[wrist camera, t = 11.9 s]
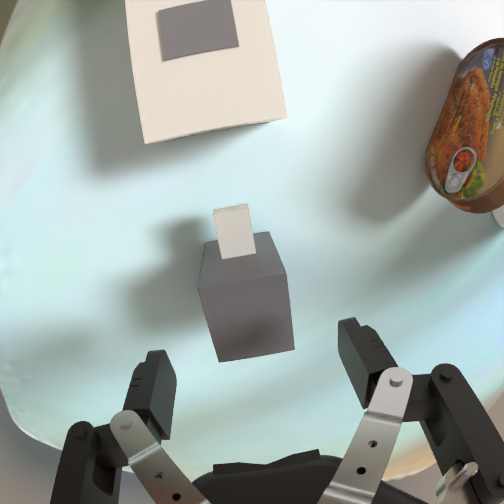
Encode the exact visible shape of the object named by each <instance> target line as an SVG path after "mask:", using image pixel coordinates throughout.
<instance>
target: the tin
mask: <svg viewBox="0 0 504 504" xmlns="http://www.w3.org/2000/svg"><path fill="white" fill-rule="evenodd" d="M426 172H427V176H428V179H429V182H430V184H431V185H432V187H433V188H434V190H435V191H436V192H437V193H438V194H439V195H441V196H442V197H444V198H446V199H448V200H449V201H450V202H451V203H452V204H454V205H455V206H456V207H458V208H459V209H461V210H464V211H467V212H471V213H487V212H490V211H493V210H495V209H497V208H499V207H501V206H503V205H504V38H497V39H492V40H489V41H486V42H484V43H482V44H480V45H479V46H477V47H476V48H474V49H473V50H472V51H471V52H470V53H468V54H467V56H466V57H465V58H464V59H463V61H462V62H461V64H460V65H459V67H458V69H457V72H456V74H455V77H454V80H453V83H452V86H451V89H450V92H449V95H448V97H447V100H446V103H445V105H444V108H443V111H442V113H441V116H440V118H439V121H438V123H437V126H436V128H435V130H434V133H433V135H432V138H431V140H430V143H429V146H428V149H427V155H426Z"/></svg>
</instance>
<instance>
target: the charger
mask: <svg viewBox="0 0 504 504" xmlns="http://www.w3.org/2000/svg"><path fill="white" fill-rule="evenodd" d="M213 219H214V223H215V228H216V233H217V238H218V240H217V241H211V242H206V243H205V247H204V253H203V259H202V265H201V271H200V277H199V283H198V292H199V296H200V299H201V303H202V306H203V310H204V313H205V317H206V320H207V324H208V327H209V331H210V334H211V338H212V341H213V344H214V348H215V351H216V354H217V357H218V361H219V363H220V362H227V361H234V360H240V359H246V358H252V357H258V356H264V355H270V354H275V353H280V352H286V351H291V350H295V347H294V337H293V327H292V318H291V309H290V300H289V292H288V283H287V275H286V271H285V269H284V266H283V264H282V261H281V259H280V257H279V254H278V252H277V249H276V247H275V245H274V242H273V240H272V237H271V235H270V233H269V231H268V232H262V233H256V234H253V231H252V225H251V219H250V213H249V208H248V204H241V205H235V206H230V207H224V208H219V209H214V210H213Z"/></svg>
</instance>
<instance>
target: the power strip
mask: <svg viewBox="0 0 504 504" xmlns="http://www.w3.org/2000/svg"><path fill="white" fill-rule="evenodd" d="M125 7H126V18H127V28H128V38H129V47H130V55H131V63H132V70H133V77H134V84H135V90H136V97H137V103H138V109H139V115H140V120H141V126H142V131H143V137H144V142H145V144H149V143H155V142H162V141H167V140H172V139H176V138H180V137H185V136H190V135H194V134H199V133H204V132H209V131H215V130H220V129H226V128H232V127H238V126H244V125H250V124H257V123H264V122H272V121H276V120H280V119H284V118H287V116H286V109H285V103H284V97H283V91H282V85H281V79H280V73H279V68H278V62H277V57H276V51H275V46H274V41H273V36H272V31H271V26H270V21H269V16H268V11H267V7H266V2H265V0H125Z"/></svg>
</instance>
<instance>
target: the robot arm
mask: <svg viewBox="0 0 504 504" xmlns="http://www.w3.org/2000/svg"><path fill="white" fill-rule="evenodd" d="M338 351H339V355H340V358H341V360H342V363H343V365H344V367H345V369H346V372H347V374H348V376H349V378H350V381H351V383H352V385H353V387H354V390H355V392H356V394H357V396H358V399H359V401H360V403H361V406H362V408H363V409H366V408H368V410H367V412H365V413H364V415H363V417H362V419H361V422H360V424H359V426H358V428H357V431H356V433H355V435H354V437H353V439H352V441H351V444H350V446H349V448H348V450H347V452H346V454H345V456H344V458H339V457H335V456H329V455H320V453H319V450H318V449H316V450H311V451H307V452H302V453H297V454H292V455H290V456H287V457H285V458H282V459H280V460H277V461H275V462H272V463H270V464H265V465H263V464H251V463H240V462H237V463H227V464H214V465H213V471H212V472H209V473H207V474H204V475H202V476H200V477H199V478H197V479H196V480H194V481H193V482H192V483H191V482H190V481H189V479H188V478H187V477H186V476H185V475H184V474H183V473H182V471H181V470H180V469H179V468H178V467H177V465H176V464H175V463H174V462H173V461H172V459H171V458H170V457H169V456H168V454H167V453H166V452H165V451H164V449H163V448H162V447H161V440H170V433H171V424H172V416H173V408H174V400H175V393H176V386H177V380H176V375H175V372H174V369H173V367H172V365H171V363H170V360H169V358H168V356H167V353H166V351H165V350H156V351H149V352H148V353H147V357H146V360H145V362H142V363H139V365H138V366H137V367H136V368H135V370H134V372H133V375H132V378H131V379H132V380H131V382H130V385H129V386H130V387H129V389H128V392H127V396H126V399H125V403H124V407H123V410H122V411H121V412H119V413H117V414H116V415H114V417H113V418H112V419H111V421H110V423H109V424H106V425H102V426H98V427H93V426H92V425H91V424H90V423H89V422H86V421H80V422H77V423H75V424H74V425H72V426H71V427H70V429H69V430H68V433H67V437H66V440H65V443H64V447H63V451H62V455H61V458H60V463H59V466H58V470H57V475H56V478H55V483H54V487H53V491H52V496H51V501H50V504H118V500H119V490H120V481H121V472H122V467H124V466H128V465H130V467H131V468H132V470H133V472H134V473H135V475H136V476H137V478H138V479H139V480H140V482H141V484H142V485H143V486H144V488H145V489H146V491H147V492H148V494H149V495H150V496H151V498H152V499H153V500H154V502H155V503H156V504H428V503H427V502H425V501H422V500H420V499H418V498H416V497H414V496H412V495H410V494H408V493H406V492H404V491H402V490H400V489H398V488H396V487H394V486H392V485H390V484H388V483H386V482H385V481H383V480H381V479H382V477H383V474H384V472H385V469H386V467H387V464H388V461H389V459H390V456H391V453H392V451H393V448H394V445H395V442H396V439H397V436H398V433H399V430H400V427H401V424H402V422H411V421H419V422H420V424H421V427H422V429H423V431H424V433H425V436H426V438H427V440H428V442H429V445H430V447H431V449H432V452H433V454H434V456H435V459H436V461H437V463H438V466H439V468H440V471H441V473H442V476H443V477H442V478H441V480H440V481H439V482H438V484H437V487H436V496H437V501H436V504H500V503H501V502H502V501H504V442H503V440H502V438H501V436H500V435H499V433H498V431H497V430H496V428H495V426H494V424H493V422H492V421H491V419H490V417H489V416H488V414H487V412H486V411H485V409H484V407H483V406H482V404H481V403H480V401H479V399H478V398H477V396H476V395H475V393H474V391H473V390H472V388H471V387H470V385H469V384H468V382H467V381H466V379H465V378H464V376H463V375H462V373H461V372H460V370H459V369H458V368H457V367H456V366H454V365H451V364H445V363H444V364H439V365H437V366H436V367H435V368H434V369H433V370H432V372H431V374H421V375H412V374H411V373H410V372H409V371H408V370H406V369H404V368H401V367H398V365H397V364H396V362H395V360H394V359H393V357H392V356H391V354H390V352H389V351H388V349H387V348H386V346H384V343H383V341H382V340H381V339H380V337H379V335H378V334H377V332H376V331H375V330H374V329H372V328H371V327H369V326H368V325H366V326H362V327H361V326H360V324H359V323H358V321H357V320H356V318H355V317H353V318H348V319H344V320H340V321H339V322H338Z"/></svg>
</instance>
